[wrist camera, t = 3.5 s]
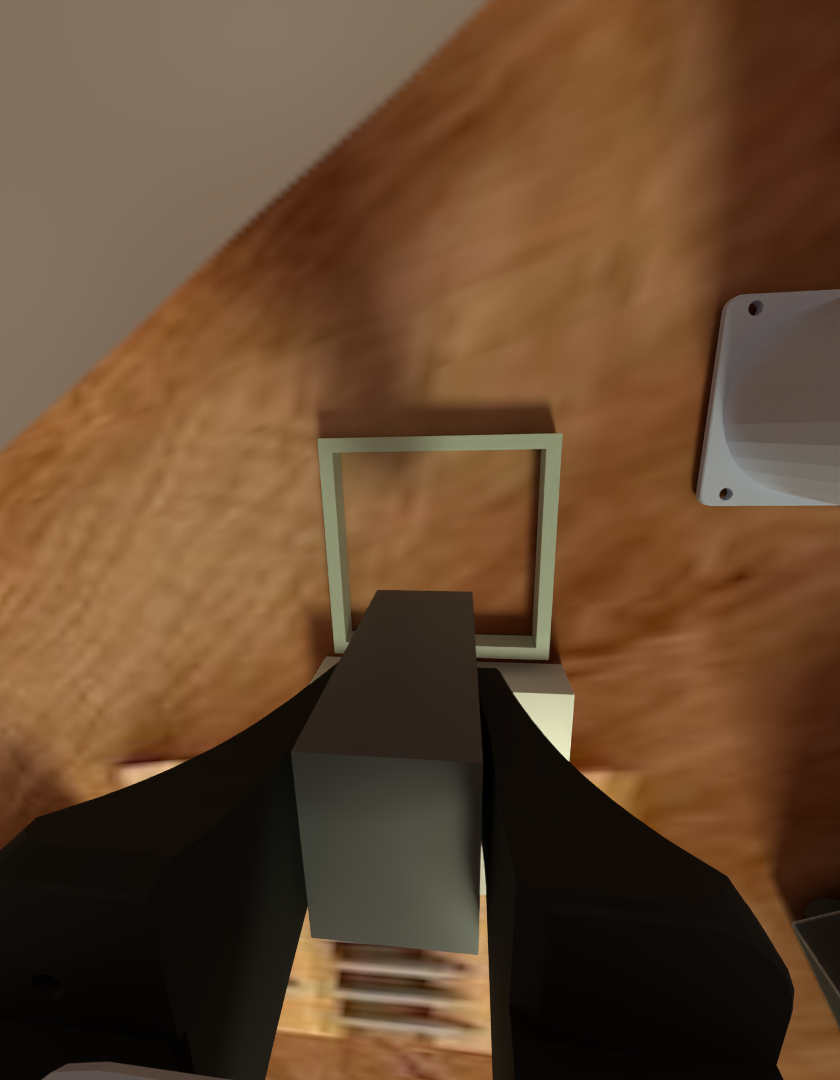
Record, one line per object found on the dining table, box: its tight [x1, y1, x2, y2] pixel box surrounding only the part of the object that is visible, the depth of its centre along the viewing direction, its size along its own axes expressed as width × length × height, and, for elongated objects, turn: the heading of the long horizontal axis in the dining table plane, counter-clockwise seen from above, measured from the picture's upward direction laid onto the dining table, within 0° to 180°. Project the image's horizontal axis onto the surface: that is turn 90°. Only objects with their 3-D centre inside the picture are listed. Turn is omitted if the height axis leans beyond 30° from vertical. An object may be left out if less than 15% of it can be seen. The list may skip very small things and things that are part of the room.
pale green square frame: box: [318, 433, 562, 660], centre depth 19 cm, size 10×10×1 cm
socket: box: [309, 656, 574, 895], centre depth 22 cm, size 12×12×2 cm
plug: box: [291, 590, 483, 955], centre depth 10 cm, size 3×4×7 cm
